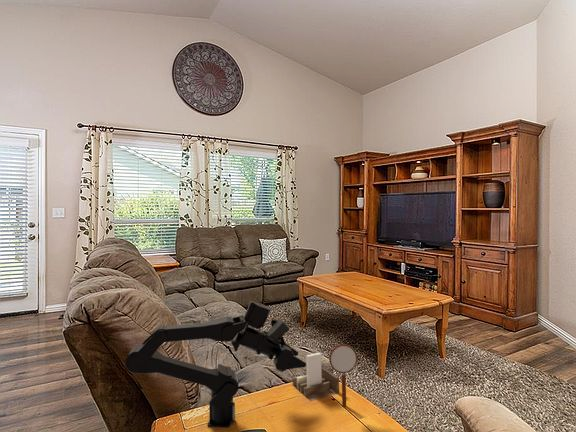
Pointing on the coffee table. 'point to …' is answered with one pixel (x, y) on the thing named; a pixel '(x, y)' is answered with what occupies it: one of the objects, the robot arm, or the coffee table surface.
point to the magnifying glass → (343, 364)
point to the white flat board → (313, 369)
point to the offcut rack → (318, 385)
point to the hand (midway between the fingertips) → (301, 359)
